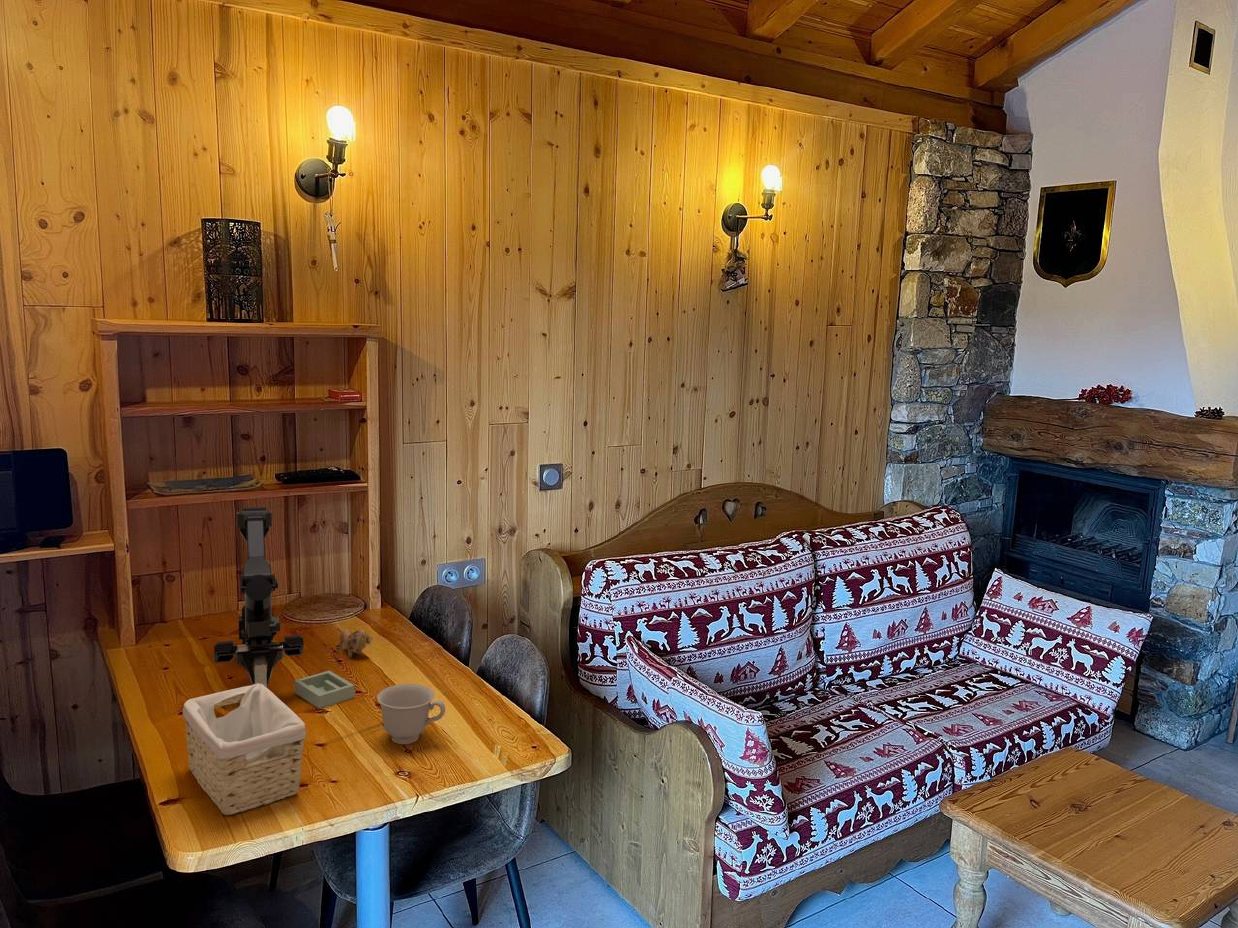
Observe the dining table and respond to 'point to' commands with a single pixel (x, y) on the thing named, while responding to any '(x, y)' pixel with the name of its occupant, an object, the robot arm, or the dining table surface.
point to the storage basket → (244, 748)
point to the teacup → (407, 711)
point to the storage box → (324, 689)
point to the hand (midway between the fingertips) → (260, 684)
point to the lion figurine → (353, 641)
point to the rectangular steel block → (260, 670)
